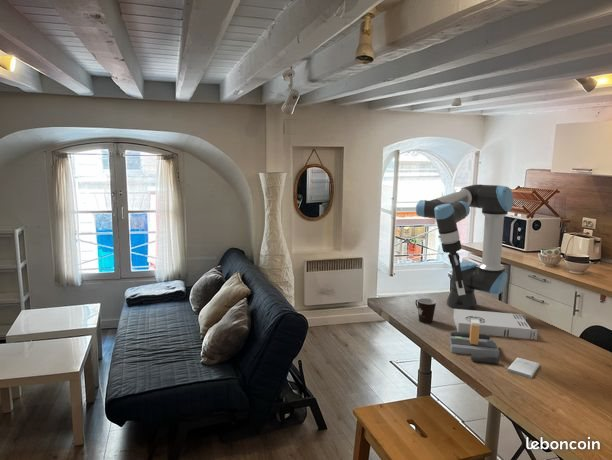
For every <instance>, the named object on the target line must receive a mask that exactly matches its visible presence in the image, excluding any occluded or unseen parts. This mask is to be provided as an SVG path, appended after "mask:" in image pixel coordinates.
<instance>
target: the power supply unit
mask: <svg viewBox="0 0 612 460" xmlns="http://www.w3.org/2000/svg"><path fill="white" fill-rule="evenodd" d="M452 316H453V321H454V324H455V327H456V330H457V331H456V332H464V333H470V324H471V319H472V320H479V322H480V329H479V334H484V335H489V336H495V337H505V338H507V337H508V338H517V339H527V340H530V339H531V340H537V338H538V329H534V328H531V326H530V325H529V323H528V322H527V321H526V320H527V314H524V313H523V314H521V313H511V312H510V313H508V312H496V311H486V310H484V311H483V310H476V309H473V310H463V309H455V308H453V315H452Z"/></svg>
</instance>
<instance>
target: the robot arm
mask: <svg viewBox="0 0 612 460" xmlns="http://www.w3.org/2000/svg"><path fill="white" fill-rule="evenodd" d="M513 206H514V194H513V192H512V189H511V188H510V187H509V186H505V185H498V184H497V185H496V184H495V185H493V184H472V185H467V186H464V187H461V188H458V189H456V190H455V191H454V192H452V193H449V194H446V195H444V196H439V197H436V198H434V199H431V200H427V199H423V200H419V201H418V202H417V204H416V206H415V213H416V215H417V216H418V217H422V218H429V219H435V221H436V225H437V230H438V233H439V235H438V237H437V238H438V239H440V242H441V248H442V252H443V253H445V254H446V253H449V254H448V255H447V256H448V260H449V263H450V265H451V269H452V271H451V286H450V288H451V289H450V292H449V294H448V296H447V299H446V305H447V306H448V307H450V308H451V309H463V310H476V309H477V308H478V307H477V306H478V303H477V298H476V294H475V291H479V292H484V293H488V294H491V295H492V294H493V295H500V294H501V293H502V292H503V291H504V289H505V288H506V285H507V282H508V276H509V275H508V273H507V272H505V271H504V266H503V265H502V264H501V263H502V262H501V261H502V247H503V233H504V221H505V217H506V216H507V215H508V212H509V211H511V210H512V208H513ZM470 208H477V209H481V214H482V215H484V227H483V241H482V242H483V243H482V245H483V246H482V256H481V259H482V260H481V263H479V264H478V265H477V263H475V262H472V261H465V262H463V261H460V255H459V252H458V251H460V250H462V244H461V240H460V233H459V229H458V225H457V223H459V222H460V221H463V220H465V219H466V218H467V217H468V216H469V215H470V212H471V209H470Z"/></svg>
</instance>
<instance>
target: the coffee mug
mask: <svg viewBox="0 0 612 460" xmlns="http://www.w3.org/2000/svg"><path fill="white" fill-rule="evenodd" d="M415 305H416V308H417V310H418V311H417V312H418V322H420V323H422V324H427V323H428V324H432V323H433V320H434V316H435V311H436V310H435V309H436V305H437V300H435V299H432V298H427V297H426V298H425V297H422V298H421V297H420V298H418V299H415Z"/></svg>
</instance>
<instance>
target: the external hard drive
mask: <svg viewBox="0 0 612 460" xmlns="http://www.w3.org/2000/svg"><path fill="white" fill-rule="evenodd" d="M538 368H540V363H538V362H536V361H531V360H528V359H524V358H521V357H516V358H515V360H514V361H513V362H511V364H510V365H509V366H508V368H507V372H510V373H513V374H516V375H519V376H523V377H525V378H529V379H532V377H533V376H534V375H535V374H536V372H537V370H538Z"/></svg>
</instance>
